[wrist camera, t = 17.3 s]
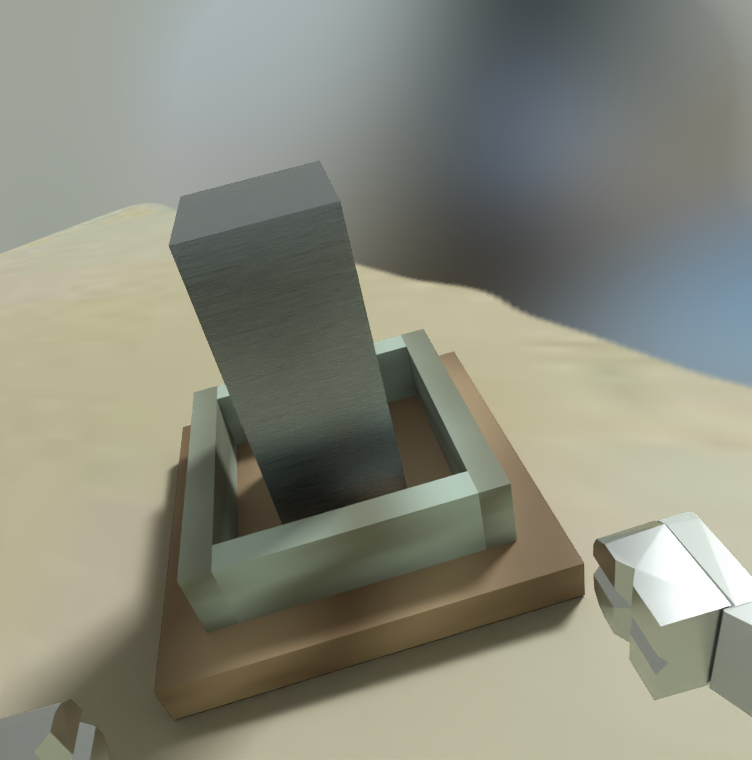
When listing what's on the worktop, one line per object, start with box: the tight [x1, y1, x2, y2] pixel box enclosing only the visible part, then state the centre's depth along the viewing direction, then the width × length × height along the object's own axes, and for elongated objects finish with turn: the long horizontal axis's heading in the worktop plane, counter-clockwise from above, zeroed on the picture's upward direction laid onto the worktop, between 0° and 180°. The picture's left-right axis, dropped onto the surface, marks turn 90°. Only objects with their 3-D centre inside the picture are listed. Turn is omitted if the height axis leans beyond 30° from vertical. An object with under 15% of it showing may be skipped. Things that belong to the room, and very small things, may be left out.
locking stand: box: [154, 329, 585, 720], centre depth 23 cm, size 13×13×4 cm
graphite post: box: [169, 161, 408, 525], centre depth 20 cm, size 4×4×11 cm
